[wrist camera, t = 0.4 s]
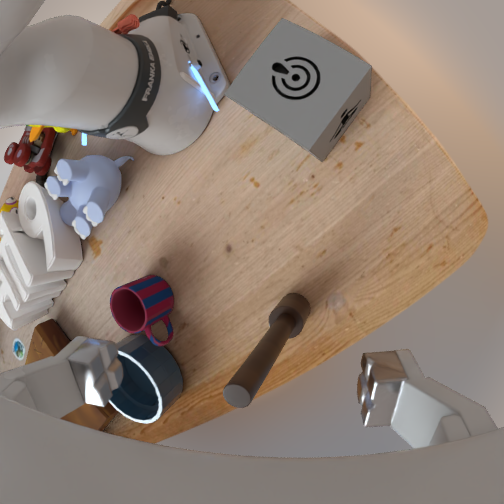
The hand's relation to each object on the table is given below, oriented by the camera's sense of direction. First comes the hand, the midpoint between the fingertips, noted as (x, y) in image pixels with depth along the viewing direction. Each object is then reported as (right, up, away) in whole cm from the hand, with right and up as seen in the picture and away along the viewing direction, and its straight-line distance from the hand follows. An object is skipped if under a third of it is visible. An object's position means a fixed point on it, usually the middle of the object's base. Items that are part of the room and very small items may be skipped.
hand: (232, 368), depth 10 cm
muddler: (+6, -3, +31) cm, 31 cm away
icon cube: (+8, +21, +26) cm, 34 cm away
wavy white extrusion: (-41, +2, +46) cm, 62 cm away
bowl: (-16, -16, +41) cm, 47 cm away
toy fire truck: (-41, +19, +37) cm, 58 cm away
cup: (-13, -4, +38) cm, 40 cm away
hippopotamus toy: (-25, +10, +30) cm, 41 cm away
